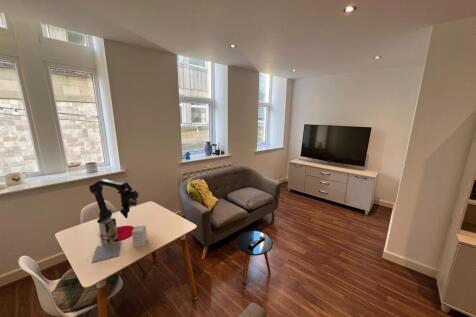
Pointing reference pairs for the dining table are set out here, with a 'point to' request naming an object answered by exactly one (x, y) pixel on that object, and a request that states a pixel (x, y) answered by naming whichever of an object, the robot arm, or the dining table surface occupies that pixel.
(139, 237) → the supplement box
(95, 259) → the mat
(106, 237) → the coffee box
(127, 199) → the robot arm
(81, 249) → the dining table surface
